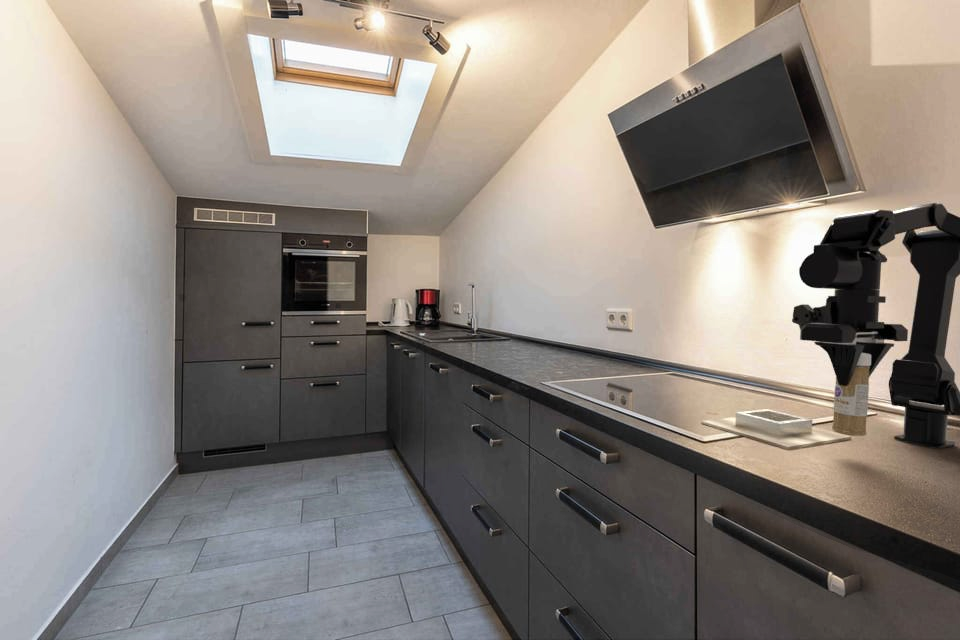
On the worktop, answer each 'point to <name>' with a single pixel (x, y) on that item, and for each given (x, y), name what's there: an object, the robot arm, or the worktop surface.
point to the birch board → (784, 442)
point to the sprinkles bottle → (853, 401)
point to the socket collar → (774, 422)
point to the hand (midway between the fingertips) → (851, 384)
